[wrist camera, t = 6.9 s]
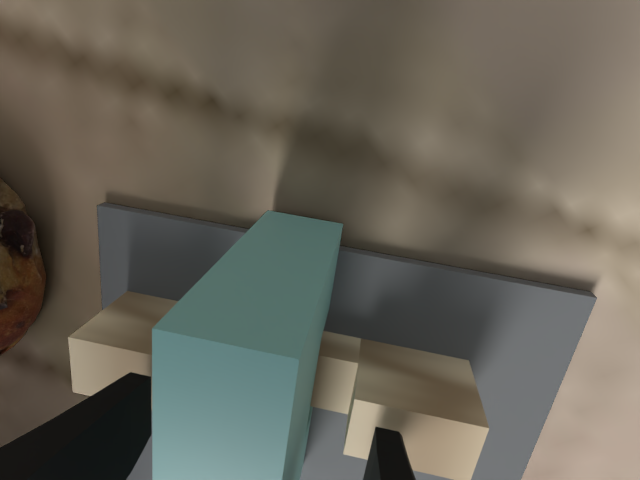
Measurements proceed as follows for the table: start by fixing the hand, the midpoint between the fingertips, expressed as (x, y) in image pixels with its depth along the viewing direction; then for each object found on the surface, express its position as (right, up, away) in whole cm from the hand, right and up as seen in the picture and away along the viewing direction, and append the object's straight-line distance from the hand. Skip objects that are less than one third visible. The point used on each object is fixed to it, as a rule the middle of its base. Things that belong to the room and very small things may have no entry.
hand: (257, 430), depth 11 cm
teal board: (+1, +1, +4) cm, 4 cm away
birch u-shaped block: (+1, +1, +4) cm, 4 cm away
